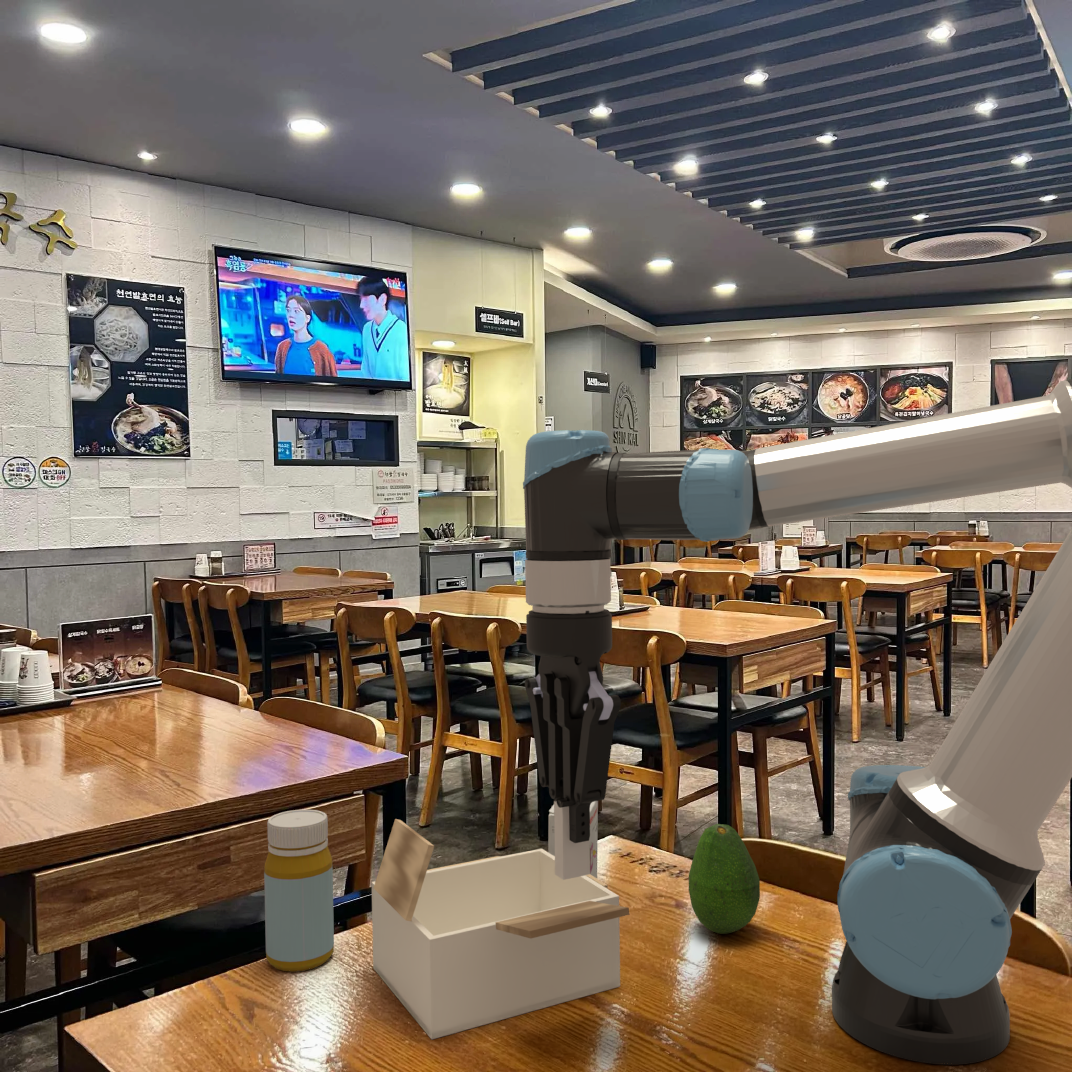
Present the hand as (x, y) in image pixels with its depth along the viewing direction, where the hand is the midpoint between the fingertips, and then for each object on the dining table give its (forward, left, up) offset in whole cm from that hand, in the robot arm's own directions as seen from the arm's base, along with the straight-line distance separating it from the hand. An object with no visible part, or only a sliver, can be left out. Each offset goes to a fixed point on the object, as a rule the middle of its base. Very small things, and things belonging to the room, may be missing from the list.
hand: (572, 874), depth 87 cm
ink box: (+28, -16, -15) cm, 35 cm away
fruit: (+12, -26, -15) cm, 32 cm away
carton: (+15, +1, -15) cm, 21 cm away
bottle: (+29, +17, -15) cm, 36 cm away
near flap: (+6, 0, -6) cm, 8 cm away
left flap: (+15, +12, -6) cm, 20 cm away
